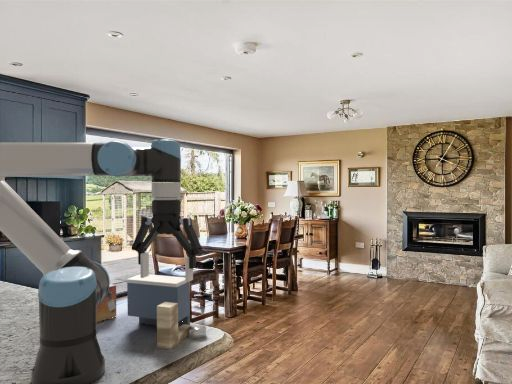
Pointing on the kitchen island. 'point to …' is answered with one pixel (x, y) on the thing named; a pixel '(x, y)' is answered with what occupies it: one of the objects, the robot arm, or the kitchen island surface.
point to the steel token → (197, 331)
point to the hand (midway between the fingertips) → (166, 278)
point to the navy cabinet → (157, 297)
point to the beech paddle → (169, 326)
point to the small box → (107, 305)
